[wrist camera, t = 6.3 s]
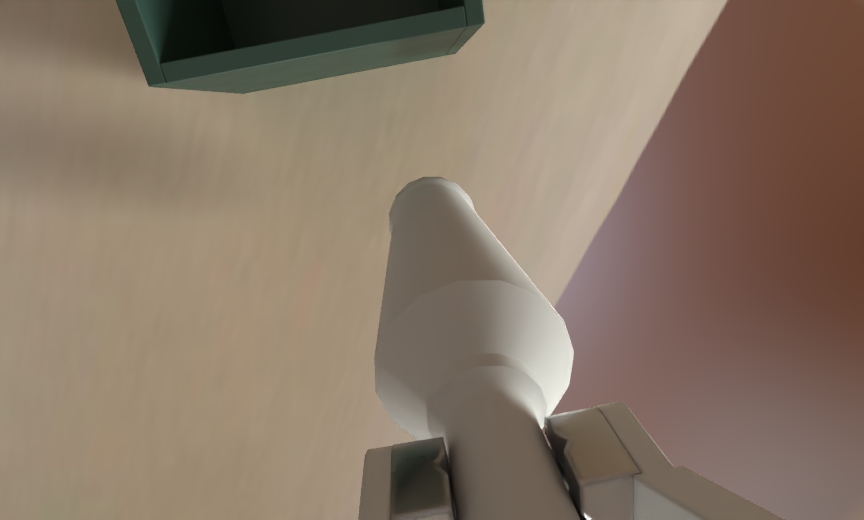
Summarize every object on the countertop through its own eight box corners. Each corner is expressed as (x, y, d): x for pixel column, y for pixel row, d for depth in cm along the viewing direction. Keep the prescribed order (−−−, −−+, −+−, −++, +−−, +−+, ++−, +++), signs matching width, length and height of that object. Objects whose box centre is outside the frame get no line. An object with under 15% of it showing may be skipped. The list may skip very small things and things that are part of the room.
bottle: (397, 165, 25) (357, 1043, 2) (480, 182, 26) (1305, 965, 2) (382, 246, 27) (255, 1254, 3) (461, 260, 27) (821, 1171, 4)
